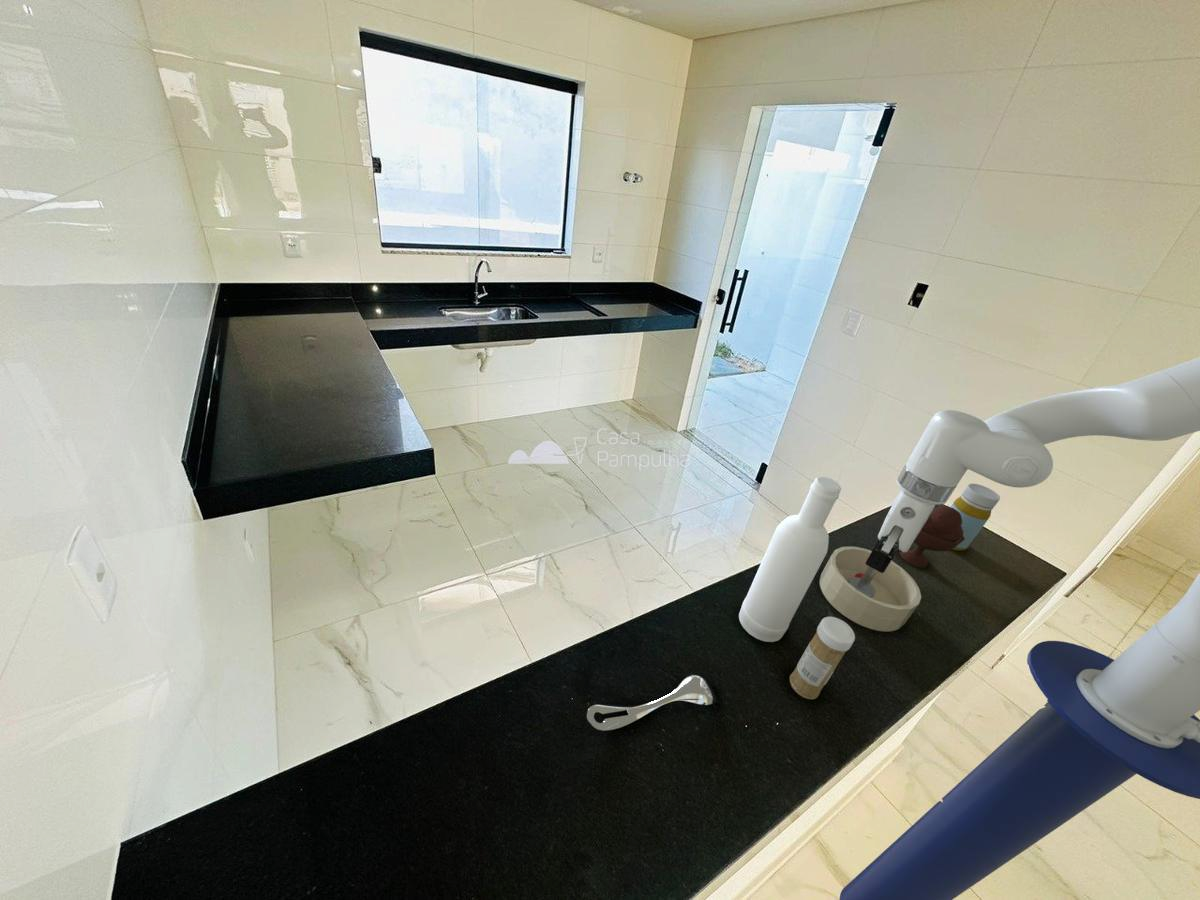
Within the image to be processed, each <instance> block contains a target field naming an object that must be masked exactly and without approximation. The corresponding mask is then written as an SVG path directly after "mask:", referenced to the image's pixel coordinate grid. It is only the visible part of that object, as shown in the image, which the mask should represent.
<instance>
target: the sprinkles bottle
mask: <svg viewBox="0 0 1200 900" xmlns="http://www.w3.org/2000/svg"><path fill="white" fill-rule="evenodd" d="M855 641H856V634H855V632H854V630H853V629H852V627H851V626H850V625H849V624H848V623H847V622H845V621H844V620H843V619H841V618H838V617H835V616H826V617H823V618H822V619H821V620H820V621H819V624H818V625H817V628H816V631H815V634H814V636H813V637H812V638H811V640H810V641H809V643H808V645H807V646H806V648H805V650H804V652H803V654H802V655H801V657H800V659H799V660H798V663H797V665H796V667H795V668H794V670H793V672H792V673H791V674H790V675H789V684H790V686H791V688H792V689H793V691H794V692H795V693H797V695H799V696H800V697H802V698H804V699H806V700H816V699H817V698H818V697H819V696H820V694H821V691H822V690H823V688H824V687H825V685H827V684H828V682H829V680H830V678H831V676H832V675H833V673H834V672H835V669H836V668H837V666H838V665H839V664H840V662H841V660H842V658H843V657H844V655H845V653H846V652H847V651H849V650H850V649H851V647H852V646H853V644H854V642H855Z"/></svg>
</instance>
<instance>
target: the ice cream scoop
mask: <svg viewBox="0 0 1200 900" xmlns="http://www.w3.org/2000/svg"><path fill="white" fill-rule="evenodd" d="M716 696H717V695H716V694H715V692H714V690H713V688H712V686H711V685H710V683H709V681H708V680H707V679H706V678H705V677H704V676H702V674H699V673H690V674H688V675H686V676H685V677H684V678H683V680H682V681H681V682H680V683H679V684H678V686H677V687H676V688H675V689H674V690H673V691H672V692H671V693H669V694H667V695H665V696H663V697H661V698H659V699H657V700H654V701H651V702H648V703H647V702H646V703H642V704H637V705H614V704H594V705H591V706H590V707H589V708H588V709H587V711H586V714H585V719H586V721H587V723H588V724H589V725H590V727H592V728H593V729H595V730H596V731H601V732H606V731H612V730H616V729H620V728H623V727H625V726H628V725H629V724H632V723H633V722H635V721H638V720H639V719H641V718H643V717H645V716H646V715H648V714H649V713H651V712H653V711H654V710H657V709H658V708H660V707H661V706H663V705H666V704H669V703H672V702H677V701H678V702H679V701H683V702H689V703H693V704H697V705H702V706H703V705H704V706H709V705H713V704H716V703H717V697H716ZM621 712H626V713H627V714H626V715H620V716H613V717H608V718H604V719H603V721H602V722H598V721H596V719H595V714H597V713H598V714H601V715H608V714H615V713H621Z"/></svg>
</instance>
